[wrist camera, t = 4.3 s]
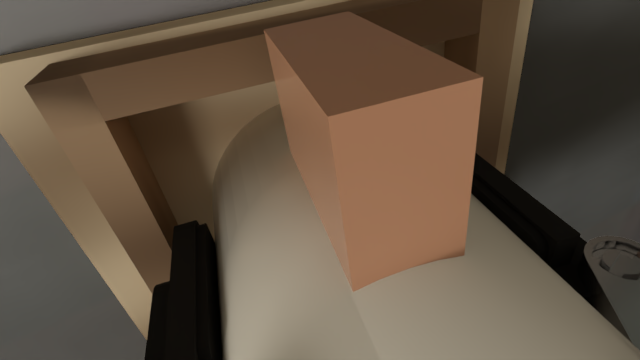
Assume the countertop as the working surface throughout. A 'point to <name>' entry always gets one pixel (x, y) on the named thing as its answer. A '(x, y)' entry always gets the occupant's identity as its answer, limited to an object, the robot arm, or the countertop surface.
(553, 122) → the countertop surface
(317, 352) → the jug
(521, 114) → the countertop surface
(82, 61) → the jug stand
